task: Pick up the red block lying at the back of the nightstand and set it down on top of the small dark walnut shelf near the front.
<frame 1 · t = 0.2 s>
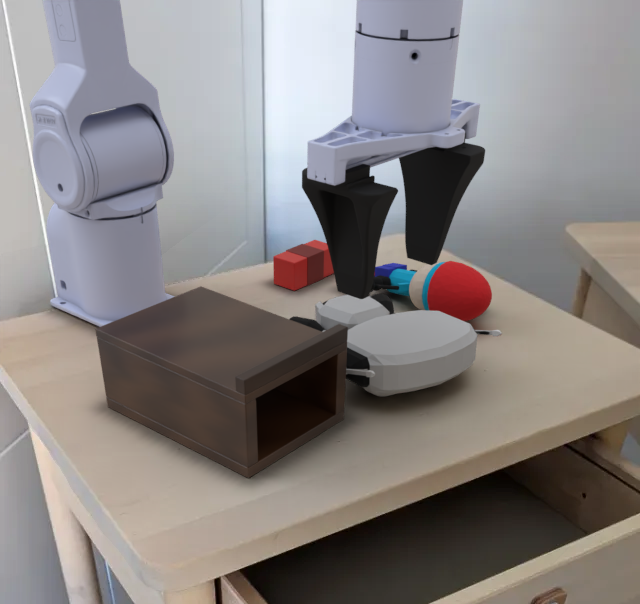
hand: (388, 276, 55), 10 cm above the table, tool pointing down, fingers open, 7 cm apart
red block: (304, 278, 81), on the table
toy figure: (421, 309, 76), on the table
shelf: (225, 413, 61), on the table
robot toy: (377, 369, 67), on the table
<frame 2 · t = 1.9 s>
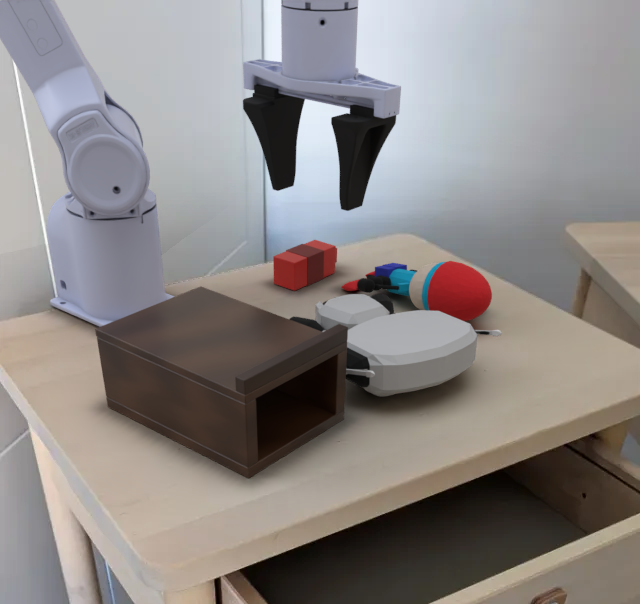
hand: (316, 197, 72), 9 cm above the table, tool pointing down, fingers open, 7 cm apart
nothing on the table moved.
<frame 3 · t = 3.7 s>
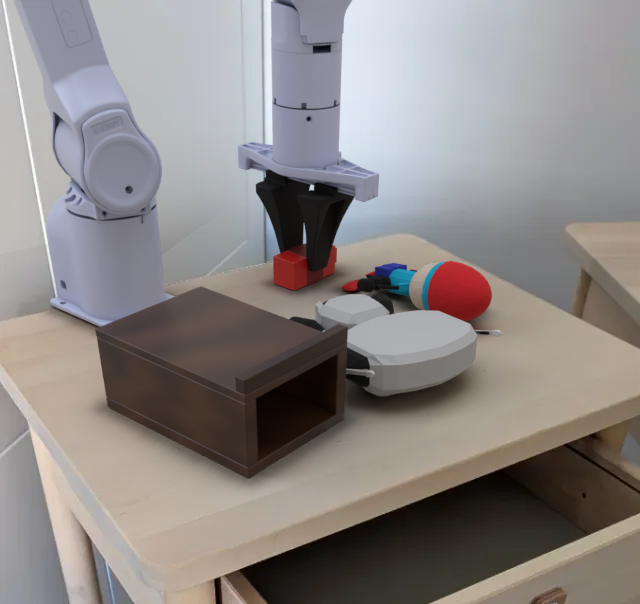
hand: (304, 264, 80), 1 cm above the table, tool pointing down, fingers closed on red block, 3 cm apart
red block: (304, 278, 81), on the table, touching gripper
everything else where it was.
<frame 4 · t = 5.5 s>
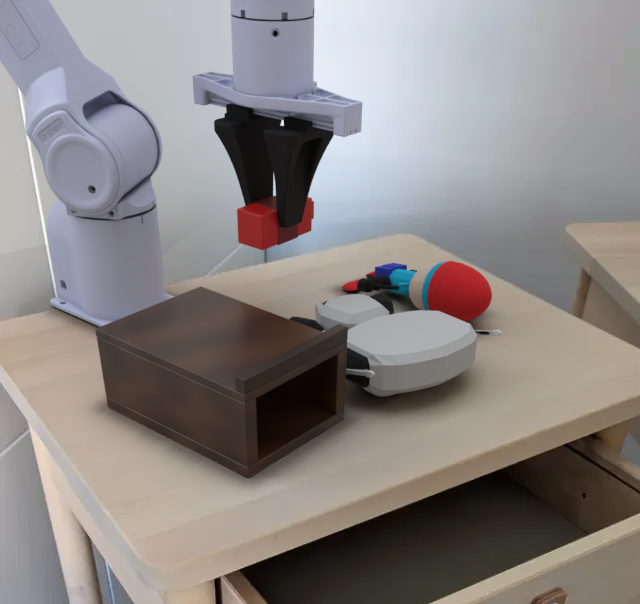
hand: (275, 219, 67), 9 cm above the table, tool pointing down, fingers closed on red block, 3 cm apart
red block: (275, 236, 68), point 7 cm above the table, touching gripper
everything else where it was.
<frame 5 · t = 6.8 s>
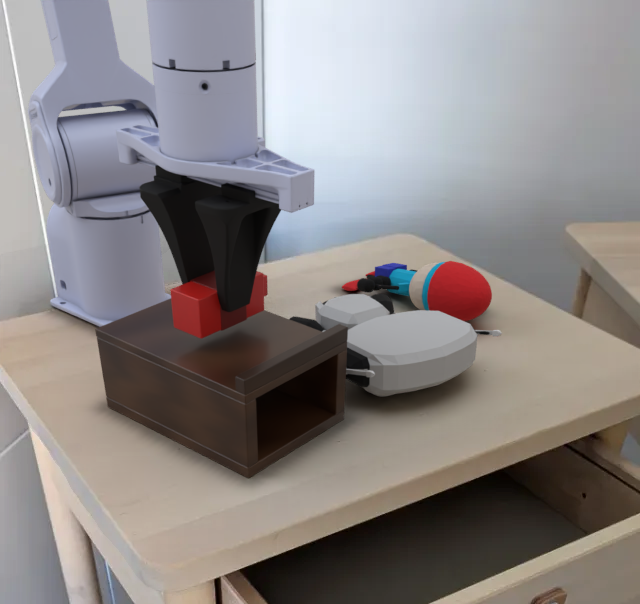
hand: (218, 299, 56), 8 cm above the table, tool pointing down, fingers closed on red block, 3 cm apart
red block: (220, 318, 57), point 7 cm above the table, touching gripper
everything else where it was.
when the fingers open (7 cm above the table, at t = 7.4 s): red block stays where it is, resting on shelf.
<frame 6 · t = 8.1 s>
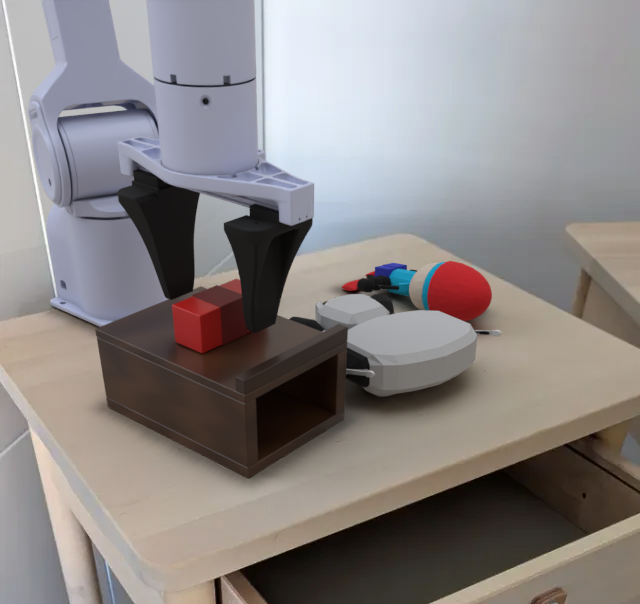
hand: (219, 310, 56), 8 cm above the table, tool pointing down, fingers open, 7 cm apart
red block: (220, 333, 57), point 6 cm above the table, touching shelf
everything else where it was.
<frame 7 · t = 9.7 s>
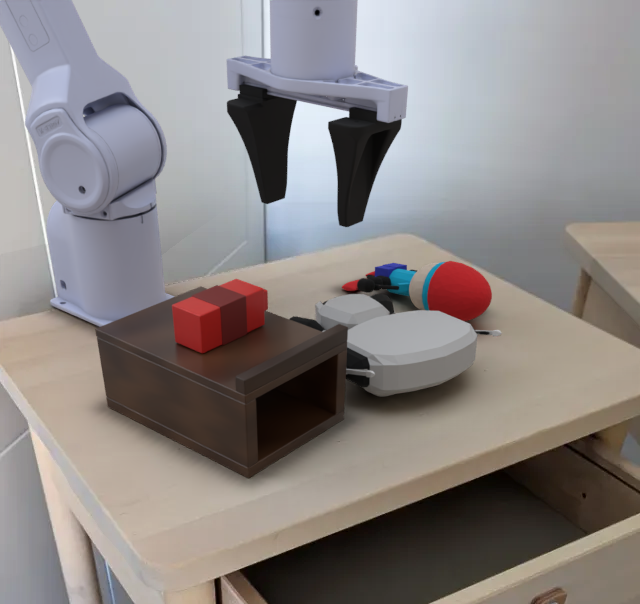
hand: (311, 211, 64), 10 cm above the table, tool pointing down, fingers open, 7 cm apart
nothing on the table moved.
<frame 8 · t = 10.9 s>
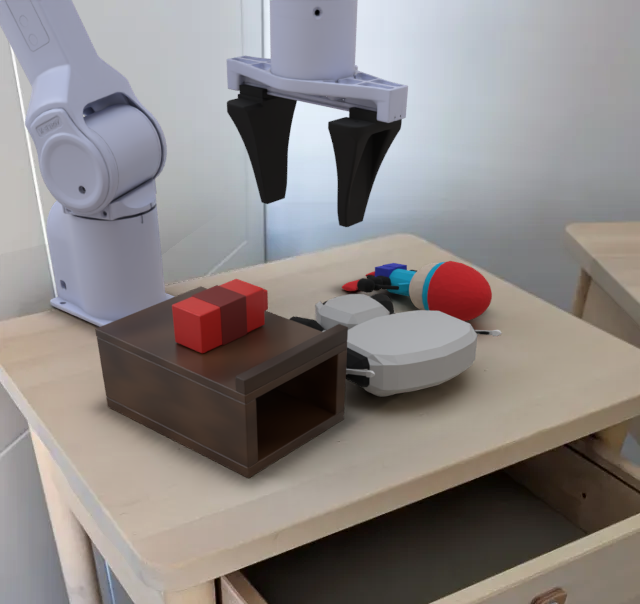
hand: (311, 211, 64), 10 cm above the table, tool pointing down, fingers open, 7 cm apart
nothing on the table moved.
at the end: red block inside the target area on the shelf (0.1 cm from its centre), point 6.0 cm above the shelf's base; the gripper is holding nothing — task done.
